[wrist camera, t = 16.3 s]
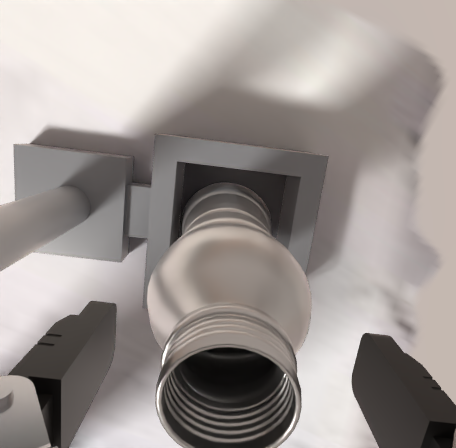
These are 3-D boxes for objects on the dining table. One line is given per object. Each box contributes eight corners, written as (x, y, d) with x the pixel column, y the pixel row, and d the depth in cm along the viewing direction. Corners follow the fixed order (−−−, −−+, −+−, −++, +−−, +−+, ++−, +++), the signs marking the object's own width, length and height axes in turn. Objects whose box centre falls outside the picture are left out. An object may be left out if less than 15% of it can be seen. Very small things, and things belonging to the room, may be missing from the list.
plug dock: (284, 294, 30) (412, 641, 9) (31, 265, 29) (-437, 574, 8) (310, 152, 27) (579, 205, 6) (28, 116, 26) (-696, 44, 6)
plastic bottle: (204, 164, 27) (145, 237, 7) (281, 199, 28) (413, 349, 8) (173, 236, 28) (57, 455, 9) (247, 268, 29) (290, 534, 10)
